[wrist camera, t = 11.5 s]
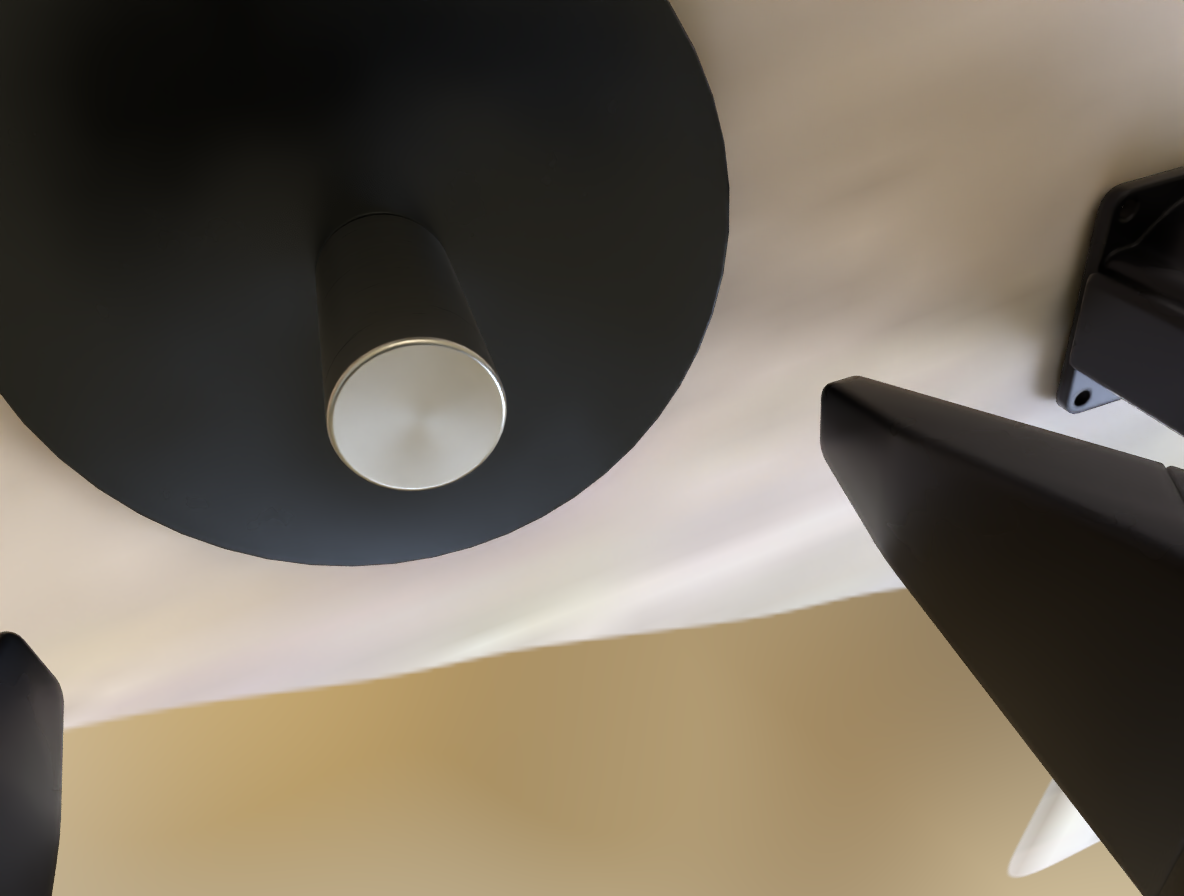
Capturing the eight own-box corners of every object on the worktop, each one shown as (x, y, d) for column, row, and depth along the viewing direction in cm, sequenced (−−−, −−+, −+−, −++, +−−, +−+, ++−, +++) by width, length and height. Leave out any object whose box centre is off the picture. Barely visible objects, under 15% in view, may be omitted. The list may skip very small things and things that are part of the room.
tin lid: (680, -261, 13) (913, -342, 8) (724, 438, 21) (855, 604, 16) (-287, -94, 11) (-738, -71, 6) (174, 609, 19) (136, 857, 14)
